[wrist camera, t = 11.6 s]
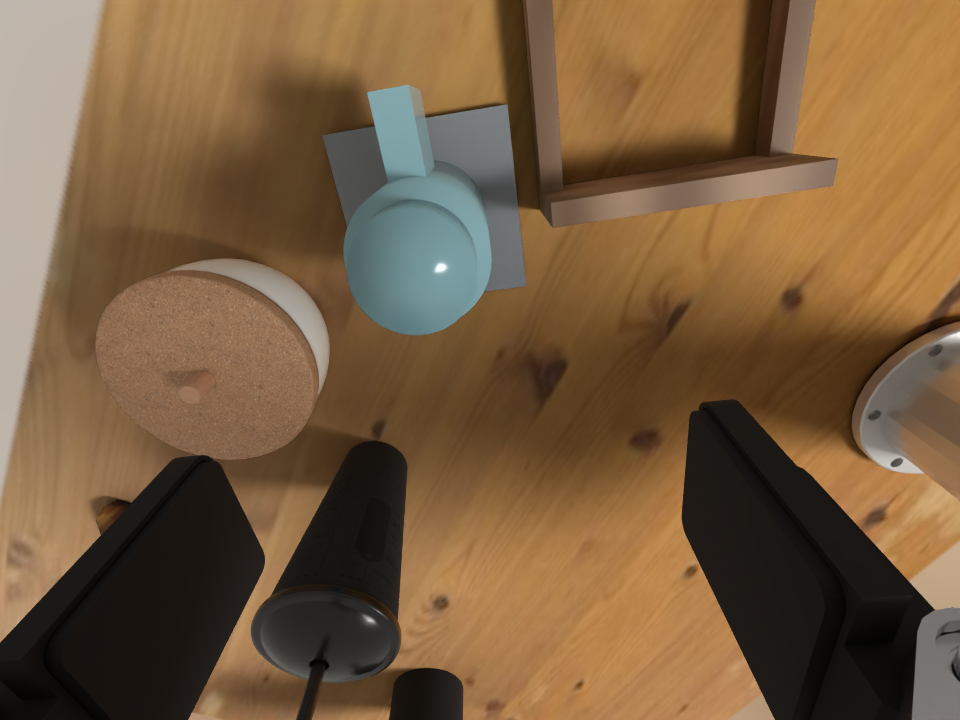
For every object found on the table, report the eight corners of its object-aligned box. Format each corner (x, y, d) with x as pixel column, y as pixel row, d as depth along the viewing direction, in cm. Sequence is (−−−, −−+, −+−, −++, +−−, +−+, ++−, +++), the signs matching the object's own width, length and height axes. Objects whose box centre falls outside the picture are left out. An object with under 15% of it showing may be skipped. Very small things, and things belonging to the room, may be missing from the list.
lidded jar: (332, 407, 34) (285, 502, 25) (176, 364, 32) (71, 451, 23) (366, 270, 29) (322, 331, 21) (186, 211, 27) (59, 252, 19)
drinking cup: (312, 432, 35) (142, 763, 17) (413, 419, 34) (347, 745, 16) (341, 507, 38) (226, 847, 20) (433, 496, 38) (397, 834, 20)
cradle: (808, -88, 21) (897, -143, 17) (773, 174, 27) (833, 185, 22) (519, -36, 22) (530, -74, 18) (540, 210, 27) (552, 227, 23)
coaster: (506, 104, 25) (507, 104, 24) (525, 282, 29) (526, 285, 29) (325, 134, 25) (321, 135, 25) (371, 305, 30) (369, 308, 29)
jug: (468, 84, 24) (463, 65, 14) (493, 259, 28) (503, 337, 18) (354, 104, 24) (273, 100, 14) (396, 274, 28) (355, 358, 19)
